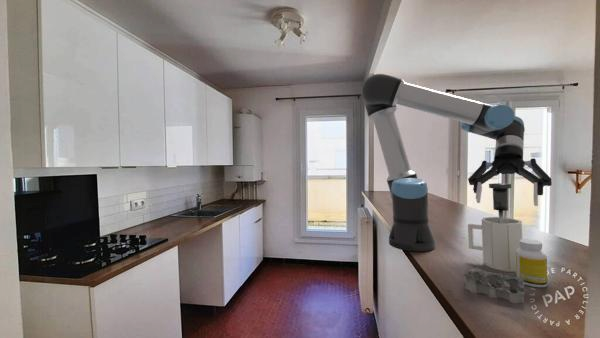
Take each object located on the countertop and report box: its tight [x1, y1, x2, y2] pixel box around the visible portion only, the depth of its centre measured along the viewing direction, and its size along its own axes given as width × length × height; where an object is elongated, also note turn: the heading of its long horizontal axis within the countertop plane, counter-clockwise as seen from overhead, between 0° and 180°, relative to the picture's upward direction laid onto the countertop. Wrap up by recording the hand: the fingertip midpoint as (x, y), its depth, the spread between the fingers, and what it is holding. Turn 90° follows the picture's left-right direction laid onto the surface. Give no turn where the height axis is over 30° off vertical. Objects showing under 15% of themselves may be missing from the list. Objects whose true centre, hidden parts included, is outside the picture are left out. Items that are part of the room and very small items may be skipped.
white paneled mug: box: [467, 216, 524, 273], centre depth 71 cm, size 12×8×12 cm
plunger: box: [488, 182, 512, 223], centre depth 69 cm, size 6×6×20 cm
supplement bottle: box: [515, 238, 548, 288], centre depth 59 cm, size 5×5×10 cm
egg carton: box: [464, 268, 525, 304], centre depth 57 cm, size 11×8×4 cm
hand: (504, 201), depth 76 cm, fingers open, 13 cm apart
